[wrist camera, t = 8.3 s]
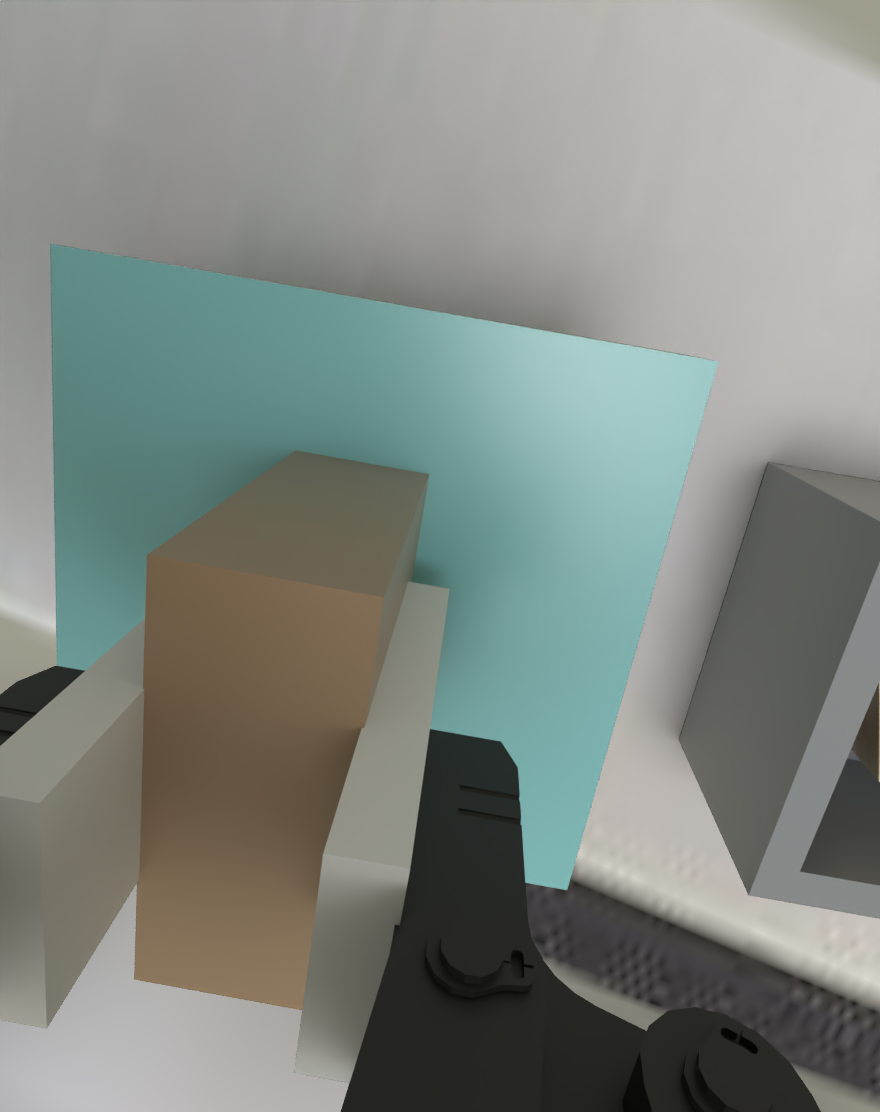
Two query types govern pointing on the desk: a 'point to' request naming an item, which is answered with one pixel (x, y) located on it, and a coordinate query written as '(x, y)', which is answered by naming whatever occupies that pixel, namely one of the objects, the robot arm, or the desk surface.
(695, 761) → the storage box
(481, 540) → the lid
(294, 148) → the desk surface
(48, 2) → the desk surface
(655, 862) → the desk surface
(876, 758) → the birch block
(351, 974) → the robot arm
